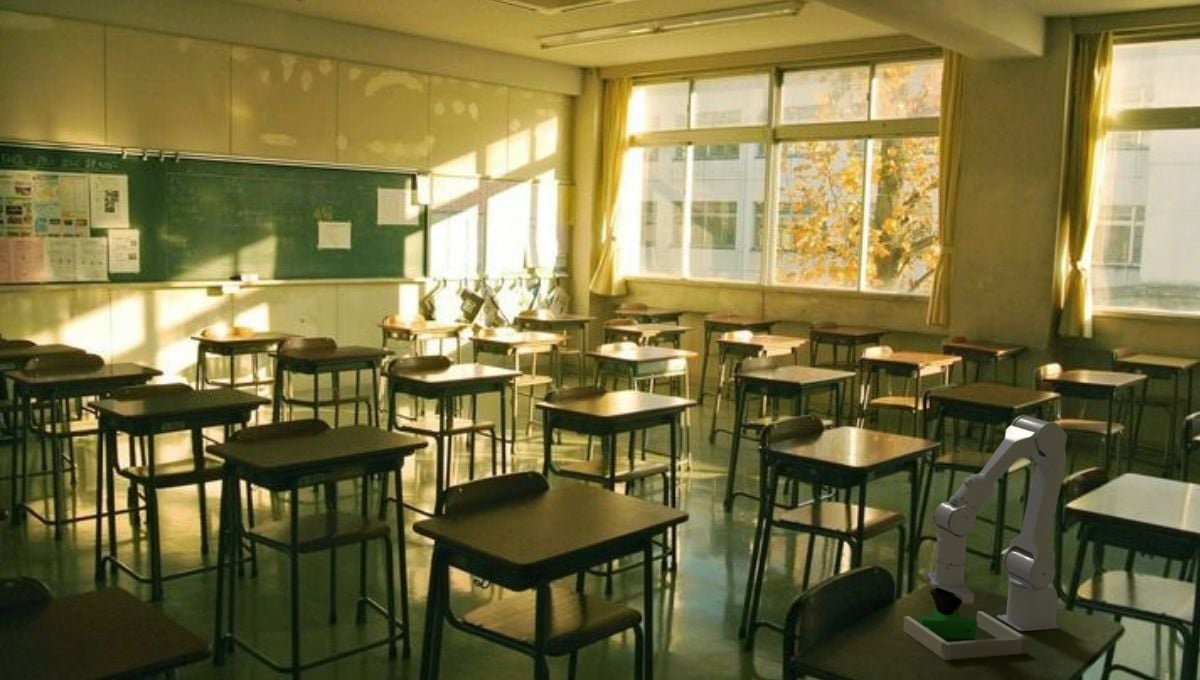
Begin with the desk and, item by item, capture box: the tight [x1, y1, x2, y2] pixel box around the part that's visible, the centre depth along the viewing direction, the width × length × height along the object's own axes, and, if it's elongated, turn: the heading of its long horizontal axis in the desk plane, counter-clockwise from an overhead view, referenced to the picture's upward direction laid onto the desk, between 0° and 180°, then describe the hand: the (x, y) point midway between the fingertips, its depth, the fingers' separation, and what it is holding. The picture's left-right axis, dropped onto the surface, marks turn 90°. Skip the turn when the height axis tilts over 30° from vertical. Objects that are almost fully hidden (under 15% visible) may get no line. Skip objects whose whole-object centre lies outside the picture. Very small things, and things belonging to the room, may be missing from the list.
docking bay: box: [902, 610, 1029, 661], centre depth 205 cm, size 18×15×3 cm
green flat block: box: [918, 608, 978, 640], centre depth 207 cm, size 11×4×5 cm, turn 88°
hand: (945, 624), depth 211 cm, fingers closed
